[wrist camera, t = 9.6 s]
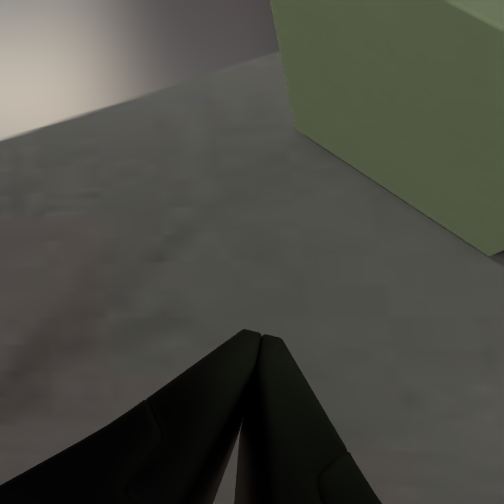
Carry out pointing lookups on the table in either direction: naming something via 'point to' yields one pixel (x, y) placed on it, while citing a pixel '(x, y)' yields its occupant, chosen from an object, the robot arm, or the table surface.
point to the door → (406, 100)
